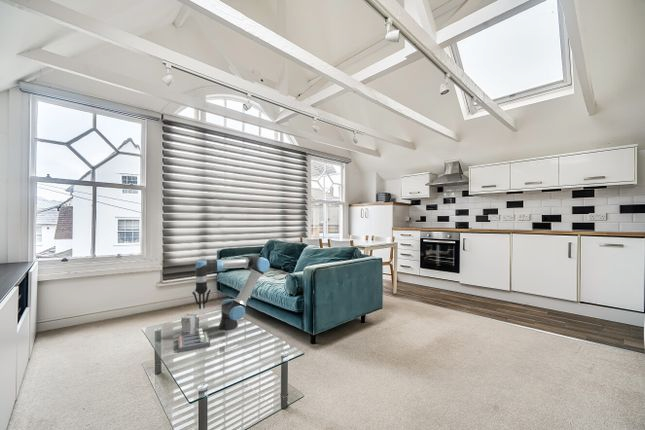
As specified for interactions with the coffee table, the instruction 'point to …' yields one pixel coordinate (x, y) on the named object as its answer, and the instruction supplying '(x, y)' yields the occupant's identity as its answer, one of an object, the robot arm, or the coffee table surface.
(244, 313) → the robot arm
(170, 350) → the coffee table surface
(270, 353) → the coffee table surface
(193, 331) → the circuit breaker
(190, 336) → the breaker board
